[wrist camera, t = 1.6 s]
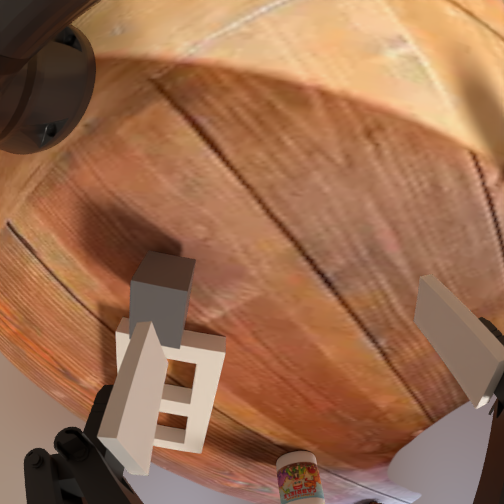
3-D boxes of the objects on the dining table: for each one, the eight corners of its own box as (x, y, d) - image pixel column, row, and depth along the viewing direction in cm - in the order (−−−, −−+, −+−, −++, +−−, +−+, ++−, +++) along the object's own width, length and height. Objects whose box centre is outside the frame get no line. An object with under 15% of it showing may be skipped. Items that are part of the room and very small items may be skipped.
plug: (147, 296, 35) (129, 338, 28) (151, 245, 33) (130, 280, 25) (189, 304, 36) (179, 349, 29) (197, 253, 33) (187, 291, 26)
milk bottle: (320, 459, 52) (339, 543, 34) (286, 471, 53) (298, 553, 35) (305, 445, 49) (324, 539, 31) (268, 458, 50) (278, 549, 32)
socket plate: (127, 425, 45) (124, 439, 42) (122, 317, 36) (115, 331, 33) (201, 439, 47) (201, 453, 44) (225, 336, 38) (225, 352, 35)
